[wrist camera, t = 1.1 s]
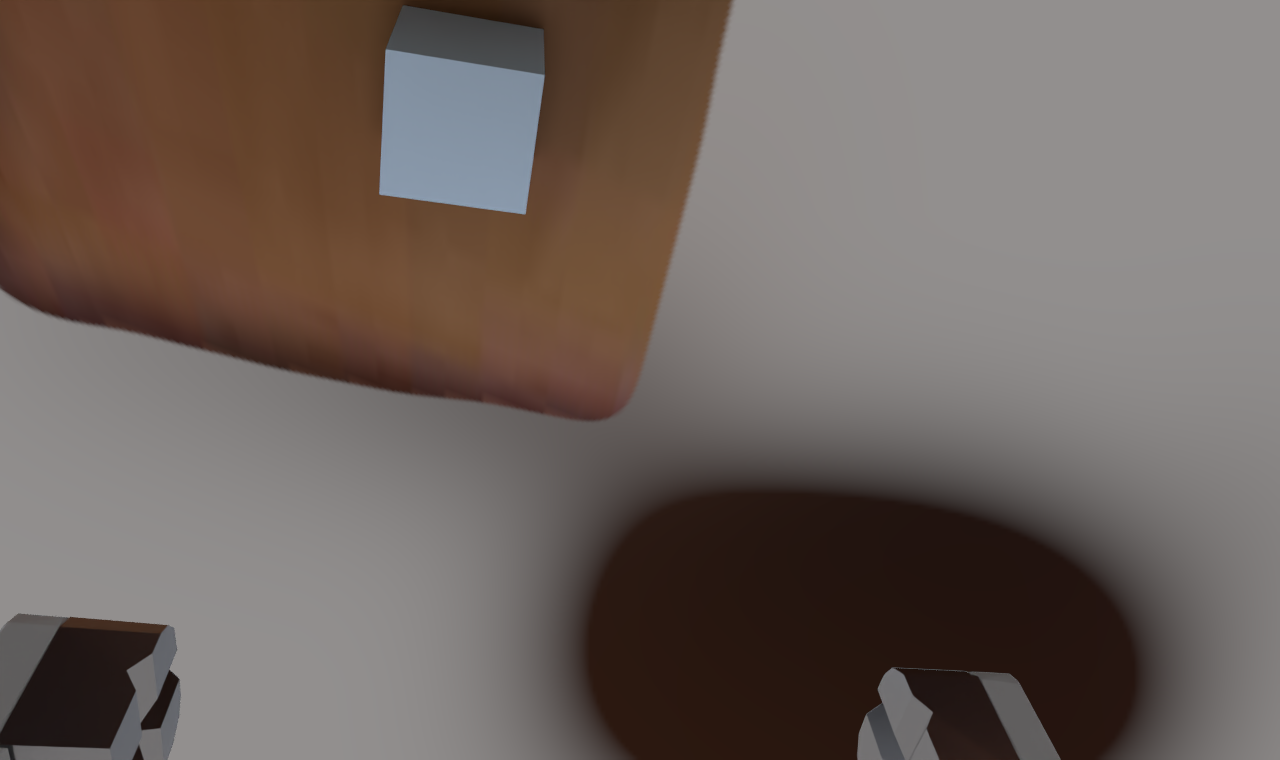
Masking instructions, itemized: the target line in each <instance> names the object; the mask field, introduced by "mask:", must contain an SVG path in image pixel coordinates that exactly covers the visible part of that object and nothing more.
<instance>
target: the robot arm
mask: <svg viewBox="0 0 1280 760" xmlns="http://www.w3.org/2000/svg"><path fill="white" fill-rule="evenodd" d="M176 651H177V646H176V638H175V630H174V628H173V627H171V626H169V625H159V624H147V623H135V622H123V621H111V620H99V619H86V618H75V617H70V618H67V617H53V616H41V615H28V614H17V615H16V616H14V618H12V619H11V620H10V621H8V622H7V623H6V624H5V625H4V626H3V627H2V629H1V630H0V760H167V759H168V756H169V753H170V751H171V748H172V745H173V741H174V737H175V732H176V728H177V723H178V719H179V711H180V697H181V693H180V679H179V678H178V677H177V676H176V675H175V674H174V673H173V672H171V671H170V670H169V669H170V666H171V664H172V661H173V659H174V656H175V654H176ZM878 691H879V694H880V696H881V699H882V702H883V703H882V704H880V705H879V706H878V707H876V708H875V709H873V710H872V711H870V712H869V713H867V714H866V717H865V719H864V722H863V724H862V727H861V730H860V733H859V742H858V760H1060V758H1059V756H1058V754H1057V753H1056V750H1055V748H1054V747H1053V745H1052V743H1051V741H1050V739H1049V737H1048V736H1047V734H1046V732H1045V730H1044V728H1043V726H1042V724H1041V723H1040V721H1039V719H1038V717H1037V715H1036V713H1035V712H1034V710H1033V708H1032V706H1031V704H1030V702H1029V701H1028V699H1027V697H1026V695H1025V693H1024V691H1023V689H1022V688H1021V686H1020V684H1019V683H1018V681H1017V680H1016V679H1015V678H1013V677H1012V676H1011V675H1010V674H1004V673H985V672H966V671H952V670H931V669H930V670H929V669H909V668H892V669H891V670H889V671H888V672H887V673H886V674H885V675H884V677H883V679H882V681H881V683H880V685H879V687H878Z"/></svg>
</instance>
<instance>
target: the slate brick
mask: <svg viewBox="0 0 1280 760" xmlns="http://www.w3.org/2000/svg"><path fill="white" fill-rule="evenodd" d="M544 77H545V64H544V29H539V28H533V27H527V26H521V25H515V24H510V23H504V22H498V21H492V20H486V19H480V18H475V17H469V16H463V15H457V14H451V13H445V12H440V11H434V10H428V9H422V8H416V7H411V6H405V5H403V6H402V9H401V11H400V14H399V16H398V19H397V21H396V24H395V27H394V29H393V32H392V34H391V37H390V39H389V42H388V45H387V47H386V54H385V77H384V100H383V123H382V146H381V168H380V191H379V194H380V195H387V196H394V197H402V198H409V199H416V200H424V201H431V202H438V203H446V204H453V205H460V206H468V207H475V208H482V209H490V210H497V211H505V212H512V213H519V214H525V213H526V206H527V199H528V192H529V185H530V178H531V170H532V163H533V156H534V149H535V142H536V135H537V127H538V120H539V113H540V106H541V99H542V91H543V84H544Z"/></svg>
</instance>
